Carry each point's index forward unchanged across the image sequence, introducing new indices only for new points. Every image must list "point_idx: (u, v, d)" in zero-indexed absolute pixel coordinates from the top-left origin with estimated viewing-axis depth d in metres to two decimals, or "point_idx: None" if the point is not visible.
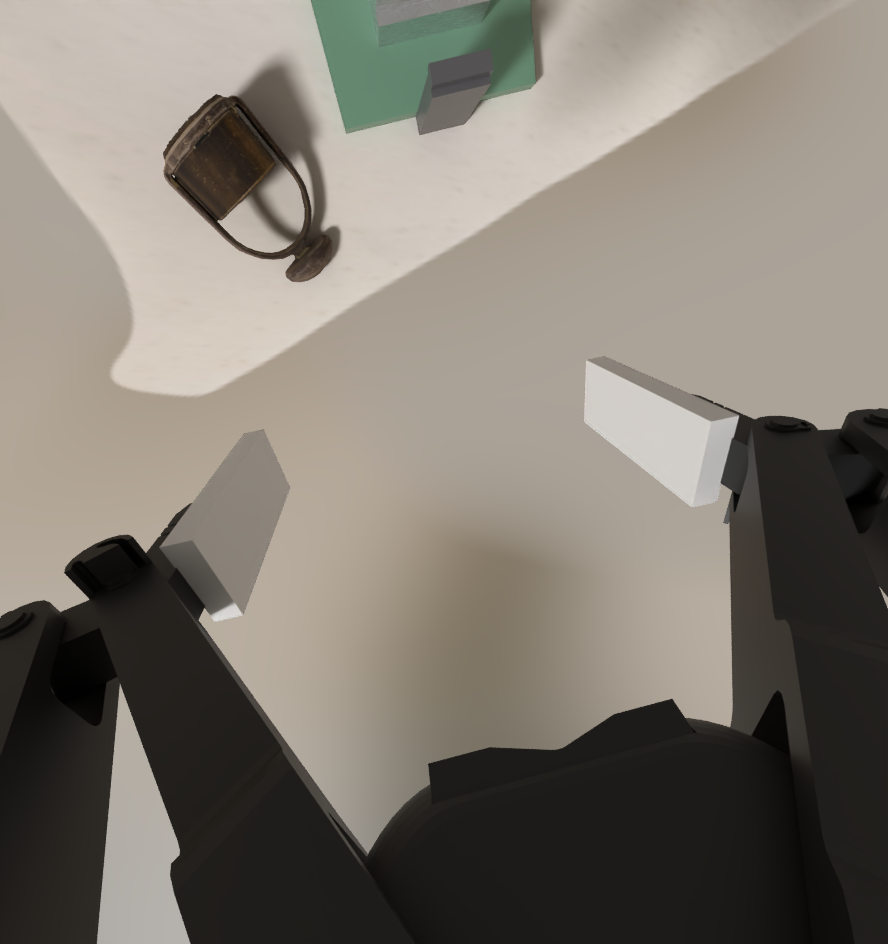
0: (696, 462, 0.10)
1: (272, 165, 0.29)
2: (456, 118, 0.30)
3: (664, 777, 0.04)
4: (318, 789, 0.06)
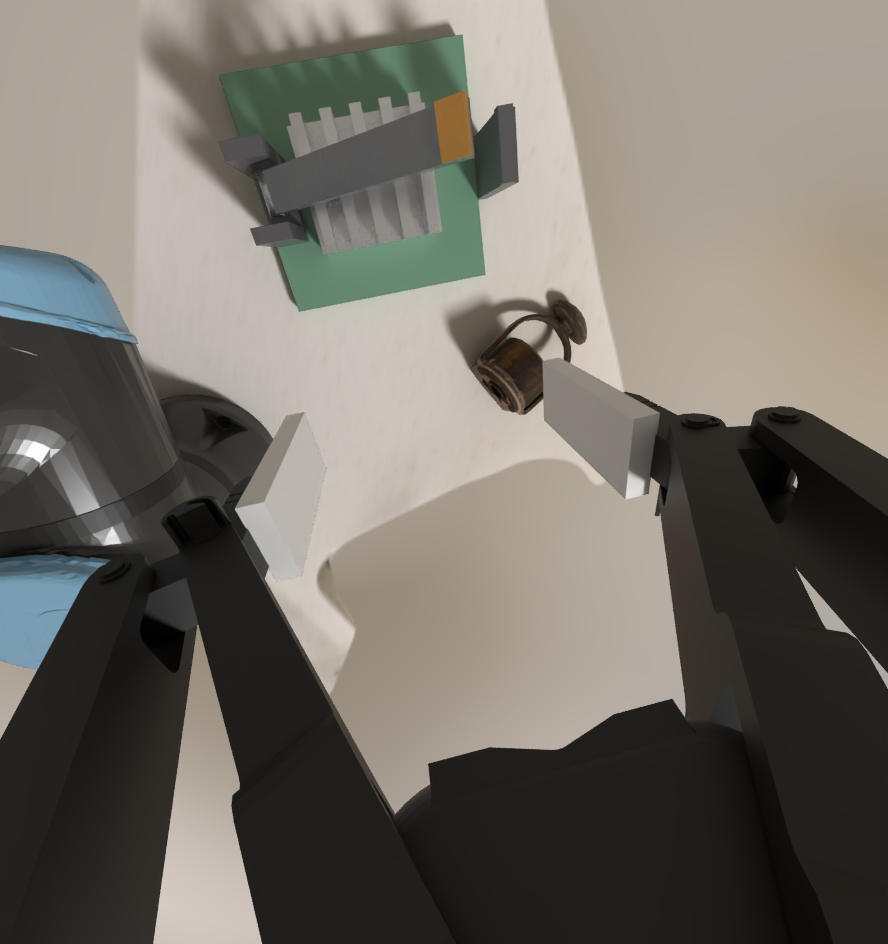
0: (625, 456, 0.11)
1: (521, 340, 0.37)
2: None
3: (664, 777, 0.04)
4: (360, 754, 0.06)
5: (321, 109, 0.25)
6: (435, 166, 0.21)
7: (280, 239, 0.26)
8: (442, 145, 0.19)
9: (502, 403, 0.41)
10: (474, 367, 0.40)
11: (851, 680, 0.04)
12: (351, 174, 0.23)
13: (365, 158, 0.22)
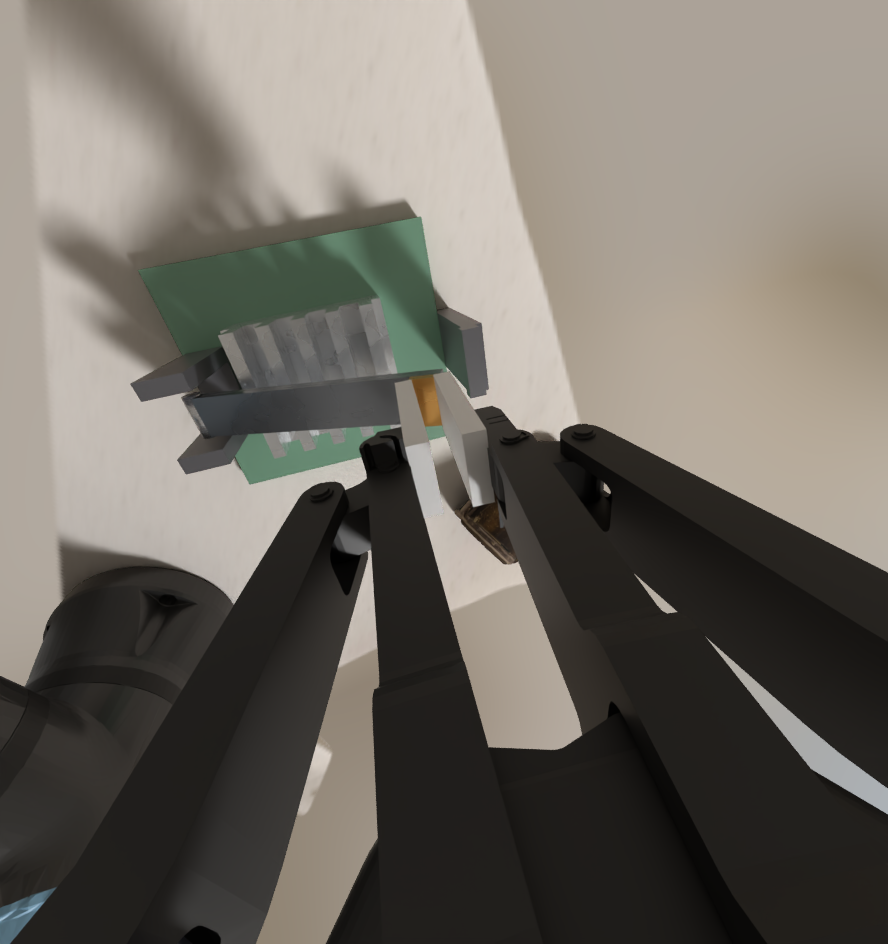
0: (466, 468, 0.12)
1: None
2: None
3: (665, 777, 0.04)
4: None
5: (257, 328, 0.21)
6: None
7: (215, 466, 0.22)
8: None
9: None
10: (457, 514, 0.37)
11: (698, 661, 0.04)
12: (308, 416, 0.20)
13: (325, 406, 0.20)
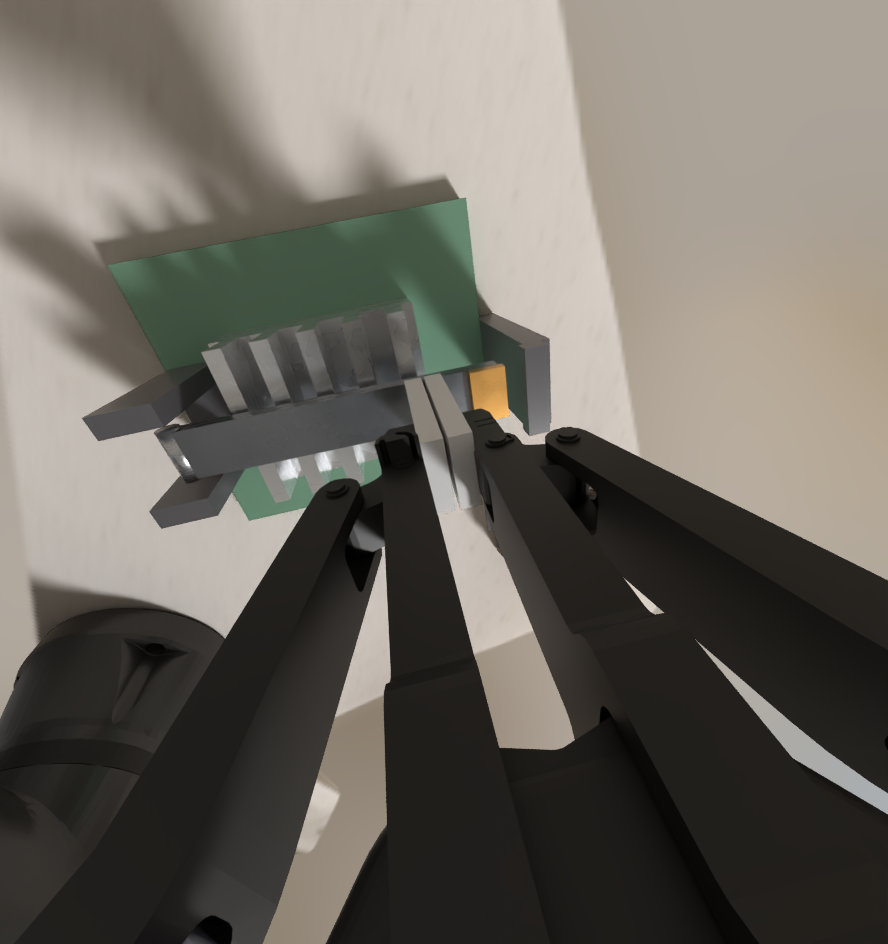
0: (453, 471, 0.12)
1: None
2: None
3: None
4: None
5: (253, 343, 0.16)
6: None
7: (198, 518, 0.17)
8: None
9: None
10: None
11: (687, 662, 0.04)
12: (341, 432, 0.17)
13: (364, 416, 0.17)
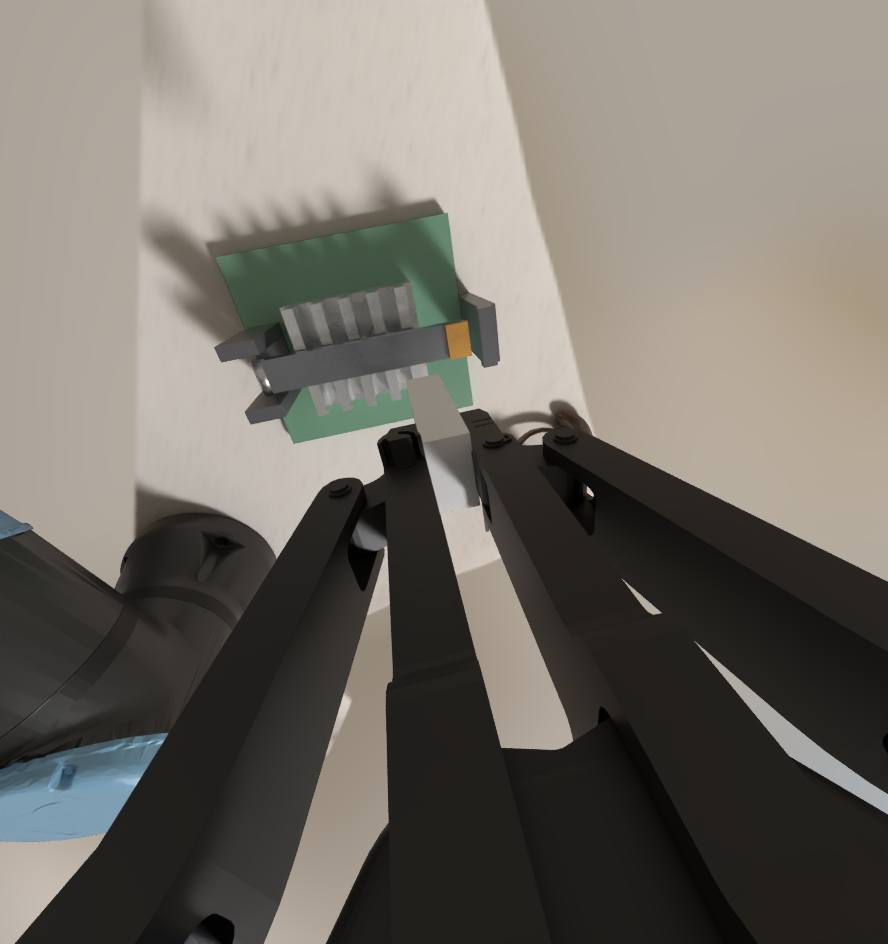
0: None
1: None
2: None
3: None
4: None
5: (311, 305, 0.26)
6: (441, 359, 0.28)
7: (273, 418, 0.28)
8: (451, 349, 0.27)
9: None
10: None
11: (684, 662, 0.04)
12: (364, 364, 0.27)
13: (379, 354, 0.27)
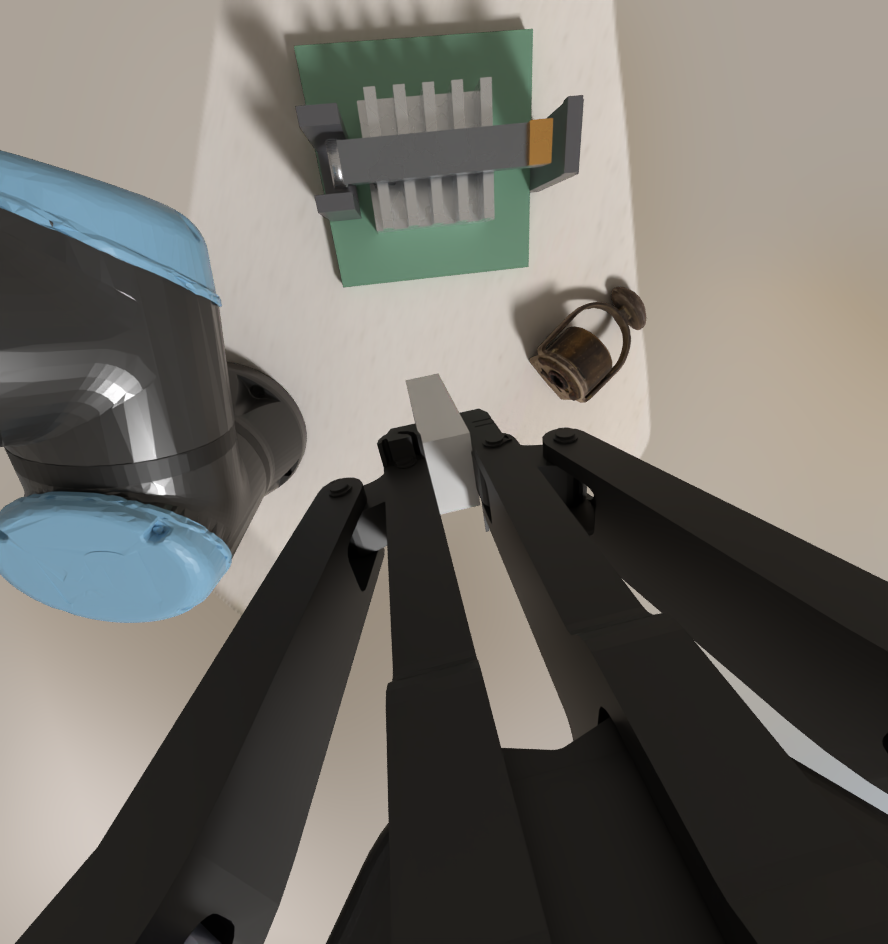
0: None
1: (582, 328, 0.38)
2: None
3: None
4: None
5: (395, 85, 0.25)
6: (518, 166, 0.27)
7: (342, 209, 0.27)
8: (532, 152, 0.27)
9: (561, 392, 0.42)
10: (533, 358, 0.41)
11: (684, 662, 0.04)
12: (441, 160, 0.27)
13: (458, 149, 0.26)
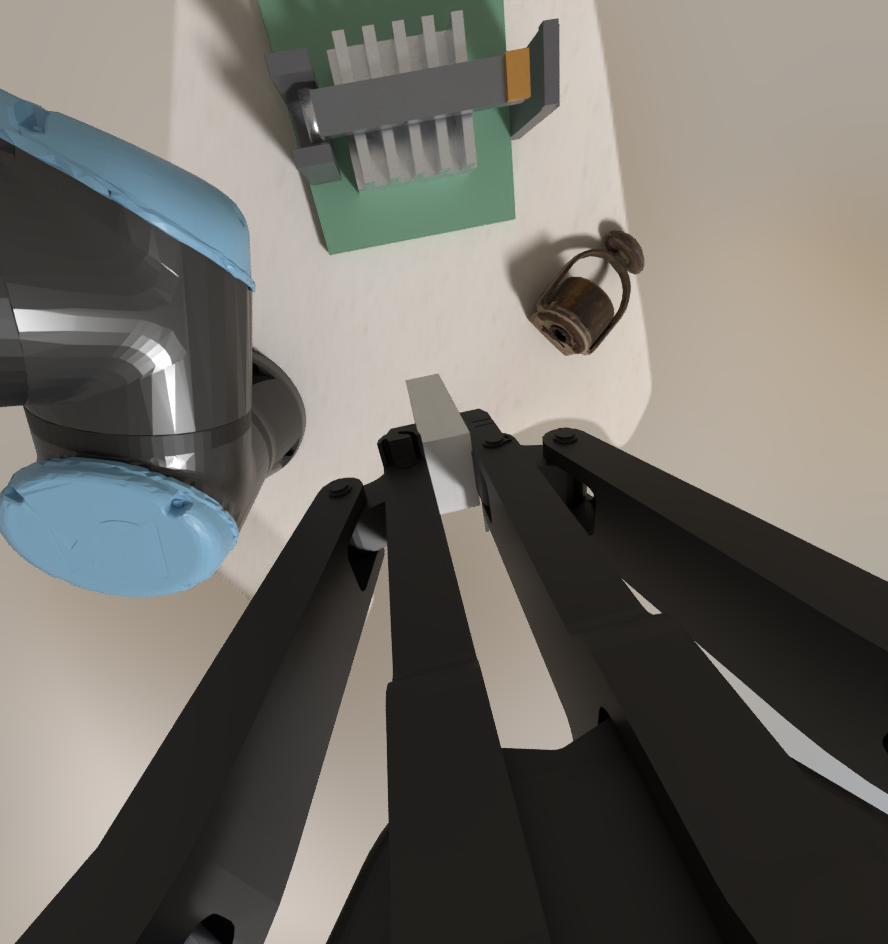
0: None
1: (580, 277, 0.37)
2: None
3: None
4: None
5: (364, 27, 0.25)
6: (497, 104, 0.27)
7: (321, 162, 0.26)
8: (510, 86, 0.26)
9: (565, 347, 0.41)
10: (533, 316, 0.41)
11: (685, 661, 0.04)
12: (418, 103, 0.26)
13: (434, 90, 0.26)
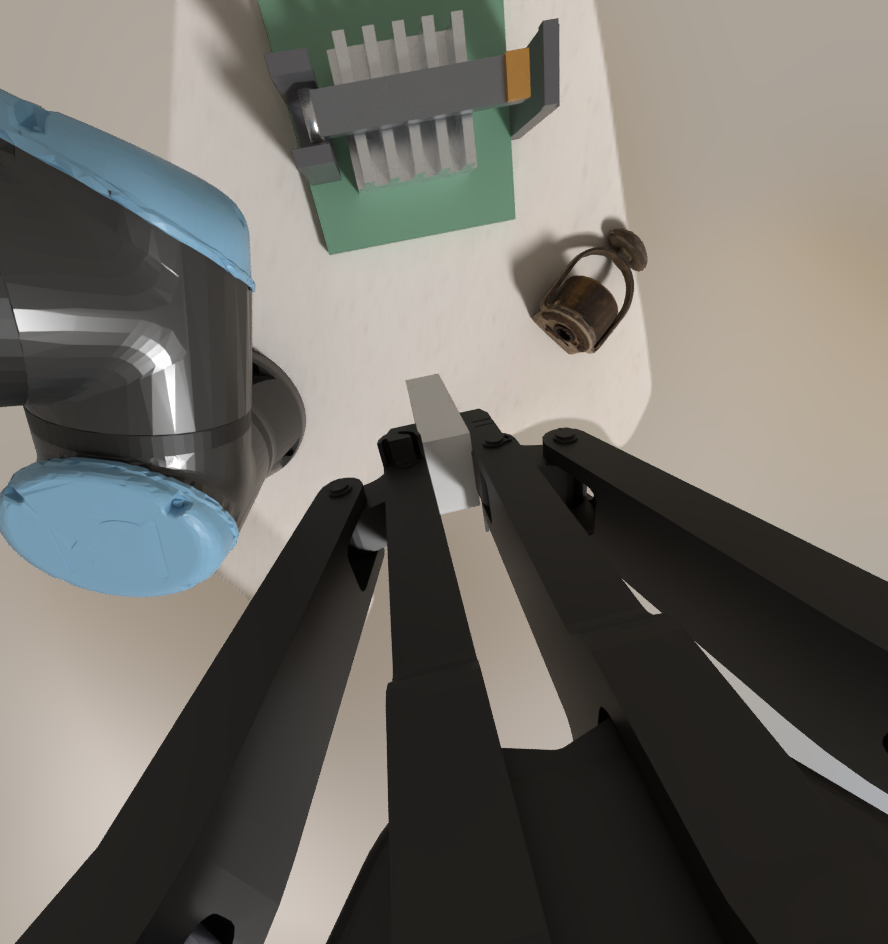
0: None
1: (583, 276, 0.37)
2: None
3: None
4: None
5: (364, 27, 0.25)
6: (497, 104, 0.27)
7: (321, 162, 0.26)
8: (510, 86, 0.26)
9: (569, 346, 0.41)
10: (536, 315, 0.41)
11: (684, 662, 0.04)
12: (418, 103, 0.26)
13: (434, 90, 0.26)
